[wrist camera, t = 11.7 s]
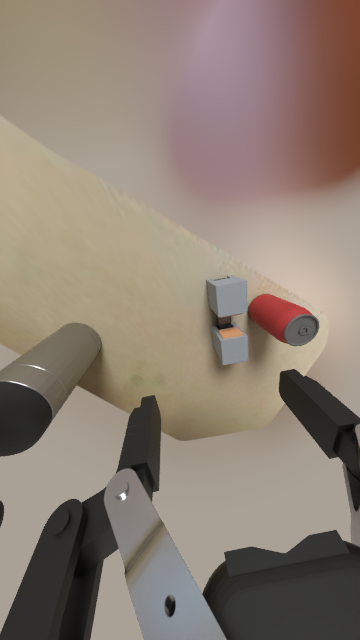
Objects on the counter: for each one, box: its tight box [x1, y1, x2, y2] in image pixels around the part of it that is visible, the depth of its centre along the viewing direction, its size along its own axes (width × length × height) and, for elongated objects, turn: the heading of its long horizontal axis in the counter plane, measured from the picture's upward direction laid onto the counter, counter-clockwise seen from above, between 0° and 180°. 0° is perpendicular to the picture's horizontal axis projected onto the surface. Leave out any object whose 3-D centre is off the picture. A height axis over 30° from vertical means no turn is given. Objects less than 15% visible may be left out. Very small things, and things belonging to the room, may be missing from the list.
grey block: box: [212, 322, 248, 365], centre depth 36 cm, size 5×6×7 cm
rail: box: [213, 278, 231, 330], centre depth 36 cm, size 2×16×2 cm, turn 10°
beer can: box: [248, 294, 319, 346], centre depth 32 cm, size 7×7×12 cm
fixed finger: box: [206, 275, 247, 318], centre depth 32 cm, size 5×6×7 cm
